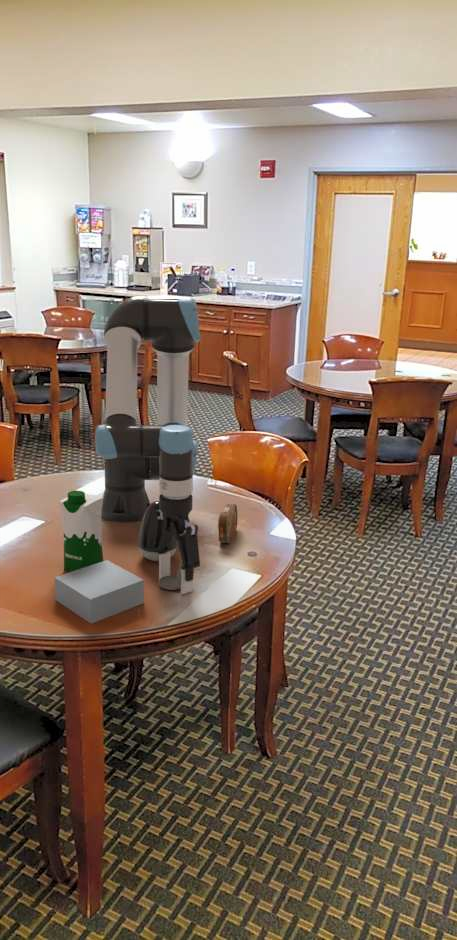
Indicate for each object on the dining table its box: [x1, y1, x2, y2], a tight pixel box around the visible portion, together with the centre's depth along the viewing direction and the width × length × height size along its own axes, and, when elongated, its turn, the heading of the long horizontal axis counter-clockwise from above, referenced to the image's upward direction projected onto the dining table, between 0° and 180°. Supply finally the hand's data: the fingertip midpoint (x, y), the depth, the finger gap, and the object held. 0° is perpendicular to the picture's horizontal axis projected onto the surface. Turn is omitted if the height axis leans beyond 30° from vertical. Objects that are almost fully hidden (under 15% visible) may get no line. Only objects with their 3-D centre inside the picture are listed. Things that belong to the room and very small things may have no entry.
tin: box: [217, 503, 238, 544], centre depth 199 cm, size 15×3×8 cm, turn 168°
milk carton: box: [58, 490, 104, 572], centre depth 176 cm, size 9×9×20 cm
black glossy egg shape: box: [137, 500, 179, 562], centre depth 184 cm, size 10×10×15 cm
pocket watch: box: [158, 561, 195, 591], centre depth 169 cm, size 8×8×10 cm
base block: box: [54, 559, 145, 624], centre depth 162 cm, size 14×14×6 cm
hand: (175, 585), depth 170 cm, fingers closed on pocket watch, 8 cm apart
